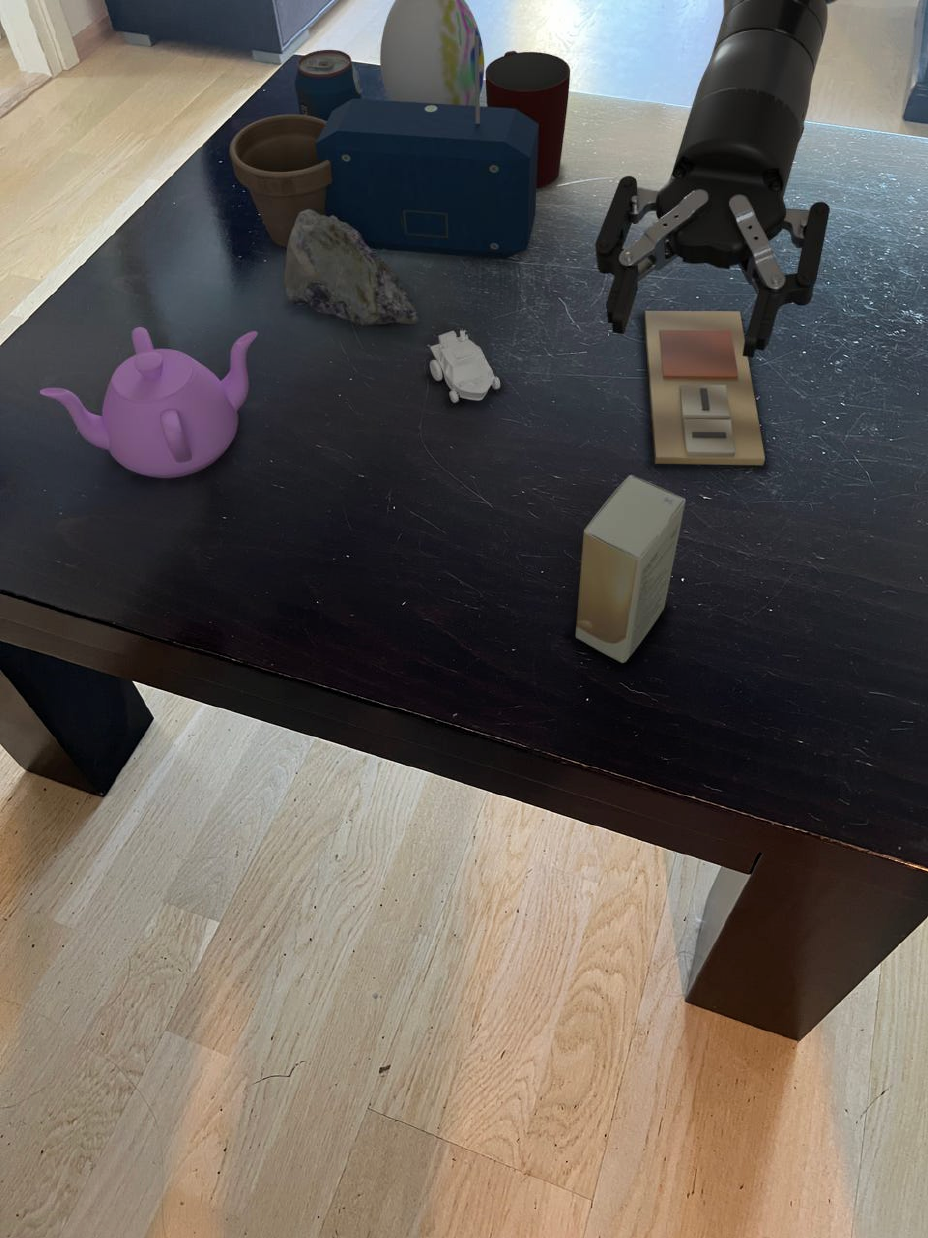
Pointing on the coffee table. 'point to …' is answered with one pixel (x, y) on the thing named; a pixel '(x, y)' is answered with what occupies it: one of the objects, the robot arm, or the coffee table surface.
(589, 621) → the cosmetic box
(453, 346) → the toy car
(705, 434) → the word board
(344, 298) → the mineral rock
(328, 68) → the soda can
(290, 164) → the flower pot
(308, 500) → the coffee table surface
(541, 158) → the mug
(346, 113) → the radio
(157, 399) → the teapot
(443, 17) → the decorative egg
